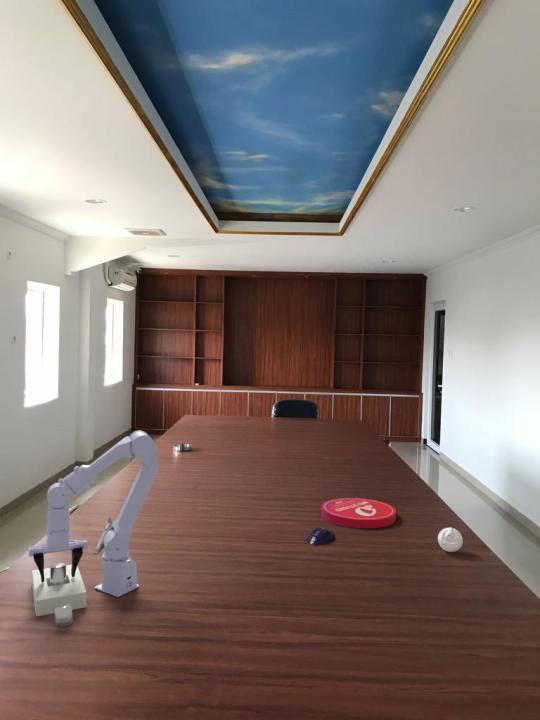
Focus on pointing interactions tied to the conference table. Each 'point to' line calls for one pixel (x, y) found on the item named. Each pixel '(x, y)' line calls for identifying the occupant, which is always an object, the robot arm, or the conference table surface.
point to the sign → (358, 513)
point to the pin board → (57, 592)
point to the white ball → (450, 539)
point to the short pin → (63, 614)
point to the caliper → (103, 535)
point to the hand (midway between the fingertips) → (58, 578)
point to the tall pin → (57, 574)
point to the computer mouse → (320, 536)
